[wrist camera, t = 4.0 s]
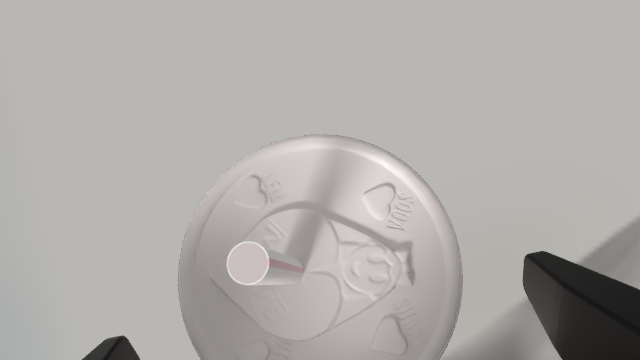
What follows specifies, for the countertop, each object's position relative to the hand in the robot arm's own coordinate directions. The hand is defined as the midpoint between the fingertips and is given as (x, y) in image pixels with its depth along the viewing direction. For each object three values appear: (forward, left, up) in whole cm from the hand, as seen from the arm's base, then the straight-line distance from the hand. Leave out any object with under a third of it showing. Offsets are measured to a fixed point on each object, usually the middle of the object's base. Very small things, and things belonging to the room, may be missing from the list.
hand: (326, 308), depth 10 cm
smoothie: (+1, -1, -9) cm, 10 cm away
